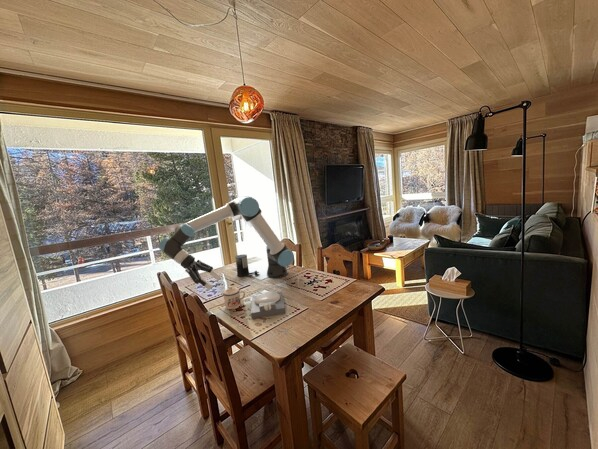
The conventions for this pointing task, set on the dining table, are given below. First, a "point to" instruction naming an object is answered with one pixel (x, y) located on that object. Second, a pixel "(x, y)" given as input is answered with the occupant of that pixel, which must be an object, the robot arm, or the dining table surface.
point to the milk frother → (242, 266)
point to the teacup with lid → (232, 297)
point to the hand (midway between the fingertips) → (215, 283)
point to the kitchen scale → (267, 304)
